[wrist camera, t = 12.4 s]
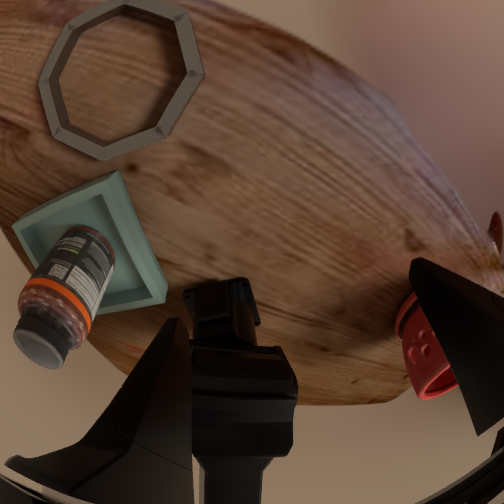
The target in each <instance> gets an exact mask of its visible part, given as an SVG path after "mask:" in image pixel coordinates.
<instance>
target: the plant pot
mask: <svg viewBox="0 0 504 504" xmlns="http://www.w3.org/2000/svg"><path fill="white" fill-rule="evenodd" d="M395 332H396V334H397V336H398V337H399V338H400V339H402V347H403V355H404V360H405V365H406V368H407V371H408V374H409V377H410V380H411V383H412V385H413V388H414V390H415V392H416V394H417V396H418V398H419V399H423V400H426V399H431V398H434V397H437V396H440V395H442V394H444V393H446V392H448V391H450V390H451V389H453V388H455V387H457V386H458V383H457V380H456V378H455V376H454V373H453V371H452V369H451V367H450V364H449V362H448V360H447V358H446V356H445V354H444V352H443V349H442V347H441V345H440V343H439V341H438V339H437V337H436V335H435V333H434V331H433V330H432V328H431V326H430V324H429V322H428V320H427V318H426V316H425V314H424V312H423V310H422V308H421V306H420V304H419V301H418V299H417V297H416V295H415V292H413V293H412V294H411V295H410V296H409V297H408V298H407V299H406V301H405V302H404V303H403V305H402V306H401V308H400V310H399V312H398V314H397V317H396V321H395ZM415 362H416V363H415ZM449 367H450V368H449ZM447 368H449V369H448V370H446V369H447Z"/></svg>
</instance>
